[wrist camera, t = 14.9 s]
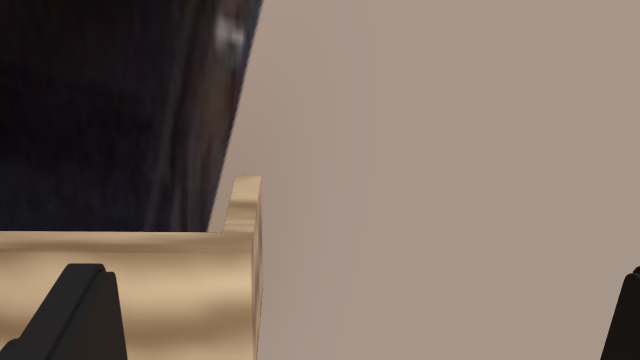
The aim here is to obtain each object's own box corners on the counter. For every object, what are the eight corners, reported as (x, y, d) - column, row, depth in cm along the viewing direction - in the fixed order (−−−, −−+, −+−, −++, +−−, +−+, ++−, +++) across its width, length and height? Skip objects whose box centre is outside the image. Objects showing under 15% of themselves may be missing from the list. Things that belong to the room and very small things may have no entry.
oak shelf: (-11, 172, 45) (-105, 251, 34) (260, 175, 46) (250, 253, 35) (16, 290, 49) (-59, 391, 39) (262, 290, 50) (254, 389, 40)
